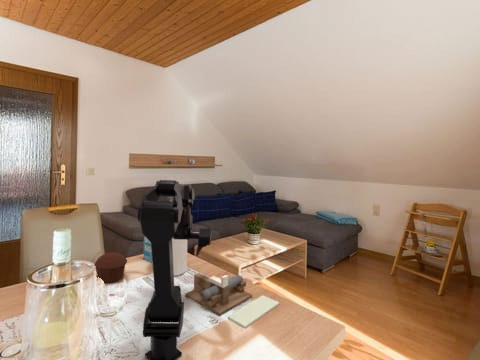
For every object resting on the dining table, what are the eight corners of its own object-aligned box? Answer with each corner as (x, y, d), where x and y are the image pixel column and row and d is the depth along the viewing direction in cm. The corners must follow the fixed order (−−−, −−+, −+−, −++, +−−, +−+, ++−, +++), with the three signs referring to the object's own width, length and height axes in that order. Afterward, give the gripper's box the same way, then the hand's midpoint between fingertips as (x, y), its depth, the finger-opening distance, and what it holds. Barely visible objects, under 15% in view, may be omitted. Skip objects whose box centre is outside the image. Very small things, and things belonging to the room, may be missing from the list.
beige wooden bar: (227, 285, 88) (228, 275, 87) (223, 288, 86) (223, 277, 86) (213, 279, 92) (213, 269, 92) (208, 281, 91) (209, 271, 90)
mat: (279, 304, 90) (279, 302, 90) (245, 328, 76) (245, 326, 76) (262, 296, 95) (262, 295, 95) (227, 318, 81) (227, 316, 81)
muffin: (87, 282, 101) (87, 256, 100) (110, 270, 111) (110, 247, 111) (112, 287, 97) (112, 261, 96) (133, 275, 108) (133, 251, 107)
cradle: (252, 297, 94) (252, 279, 94) (219, 316, 82) (219, 296, 81) (218, 281, 105) (219, 265, 105) (184, 296, 93) (185, 278, 92)
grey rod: (244, 283, 97) (245, 275, 97) (207, 302, 84) (207, 293, 84) (238, 281, 100) (238, 272, 99) (200, 299, 86) (200, 289, 86)
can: (171, 280, 105) (172, 230, 103) (150, 272, 112) (150, 225, 110) (192, 269, 116) (193, 224, 114) (172, 262, 122) (172, 219, 121)
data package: (143, 259, 125) (143, 234, 124) (151, 256, 129) (151, 232, 128) (161, 265, 118) (161, 239, 118) (168, 262, 122) (169, 237, 121)
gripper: (212, 205, 94) (211, 240, 101) (158, 204, 93) (161, 239, 100) (210, 225, 84) (210, 261, 92) (150, 224, 83) (154, 261, 90)
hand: (184, 255), depth 94 cm, fingers open, 9 cm apart
